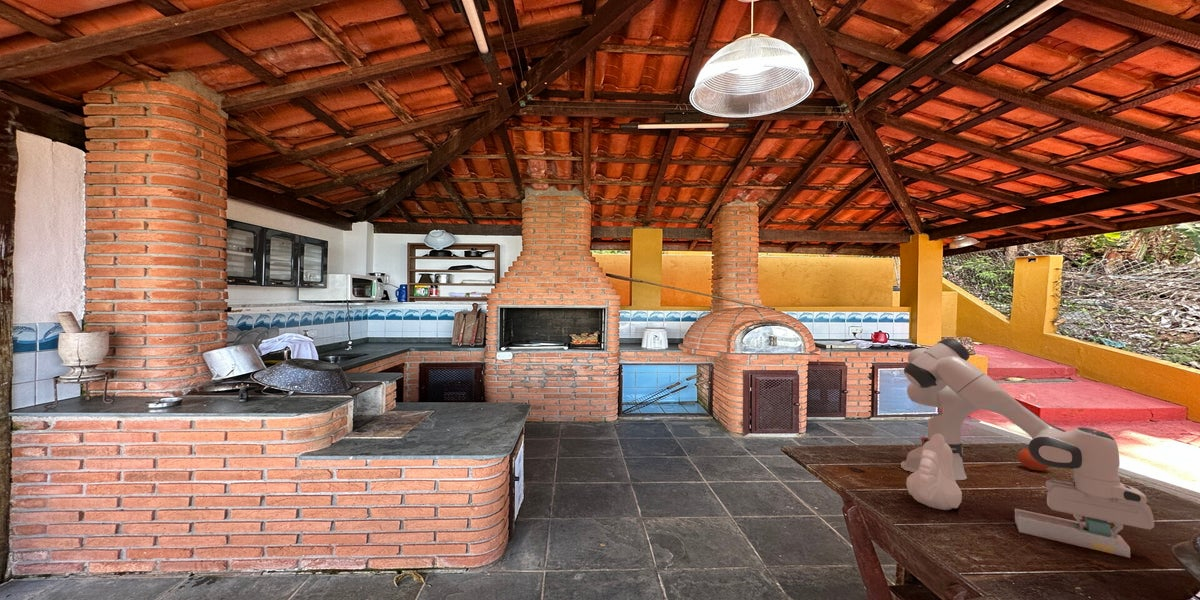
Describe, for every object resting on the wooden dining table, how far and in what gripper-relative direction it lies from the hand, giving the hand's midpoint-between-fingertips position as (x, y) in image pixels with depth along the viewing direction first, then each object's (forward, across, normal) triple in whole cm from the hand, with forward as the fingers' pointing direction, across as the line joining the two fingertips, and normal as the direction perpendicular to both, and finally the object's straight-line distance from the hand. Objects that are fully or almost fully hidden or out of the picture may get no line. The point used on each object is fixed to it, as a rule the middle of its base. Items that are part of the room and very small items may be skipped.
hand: (1097, 533), depth 123 cm
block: (+2, 0, 0) cm, 2 cm away
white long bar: (+4, -6, 0) cm, 7 cm away
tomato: (+5, -3, +77) cm, 77 cm away
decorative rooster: (+5, -39, +4) cm, 39 cm away
